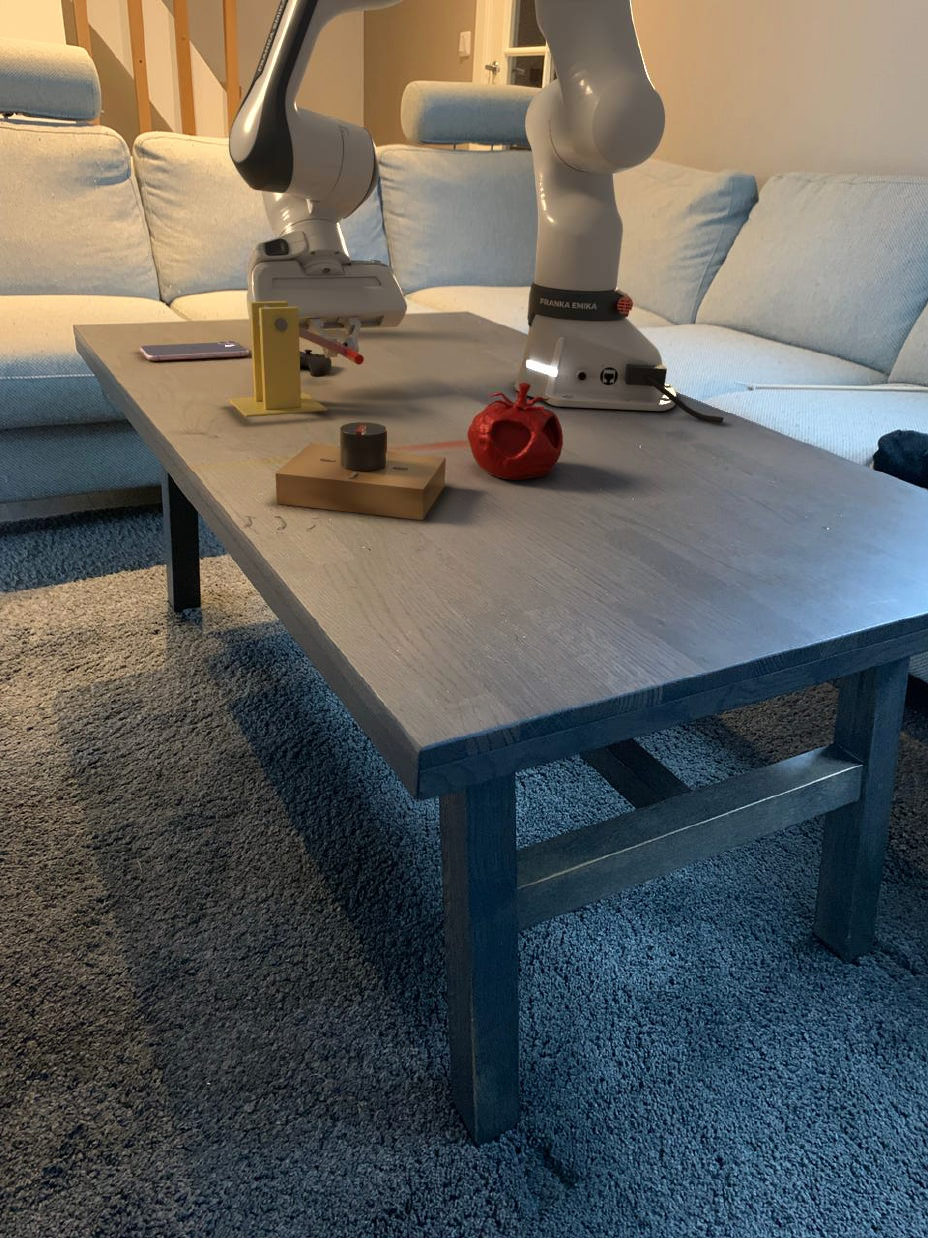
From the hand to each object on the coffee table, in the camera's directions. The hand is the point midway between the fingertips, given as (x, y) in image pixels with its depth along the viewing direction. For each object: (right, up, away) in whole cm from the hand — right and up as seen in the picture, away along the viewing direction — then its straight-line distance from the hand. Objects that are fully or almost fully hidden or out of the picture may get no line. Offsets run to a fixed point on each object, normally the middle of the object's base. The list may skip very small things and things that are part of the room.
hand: (342, 354), depth 120 cm
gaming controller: (-8, +1, +16) cm, 18 cm away
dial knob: (+6, -18, -28) cm, 34 cm away
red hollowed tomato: (+20, -18, -18) cm, 33 cm away
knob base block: (+5, -21, -27) cm, 35 cm away
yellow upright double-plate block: (-8, -8, -2) cm, 11 cm away
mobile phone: (-25, +7, +24) cm, 36 cm away
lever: (-4, 0, -5) cm, 6 cm away
